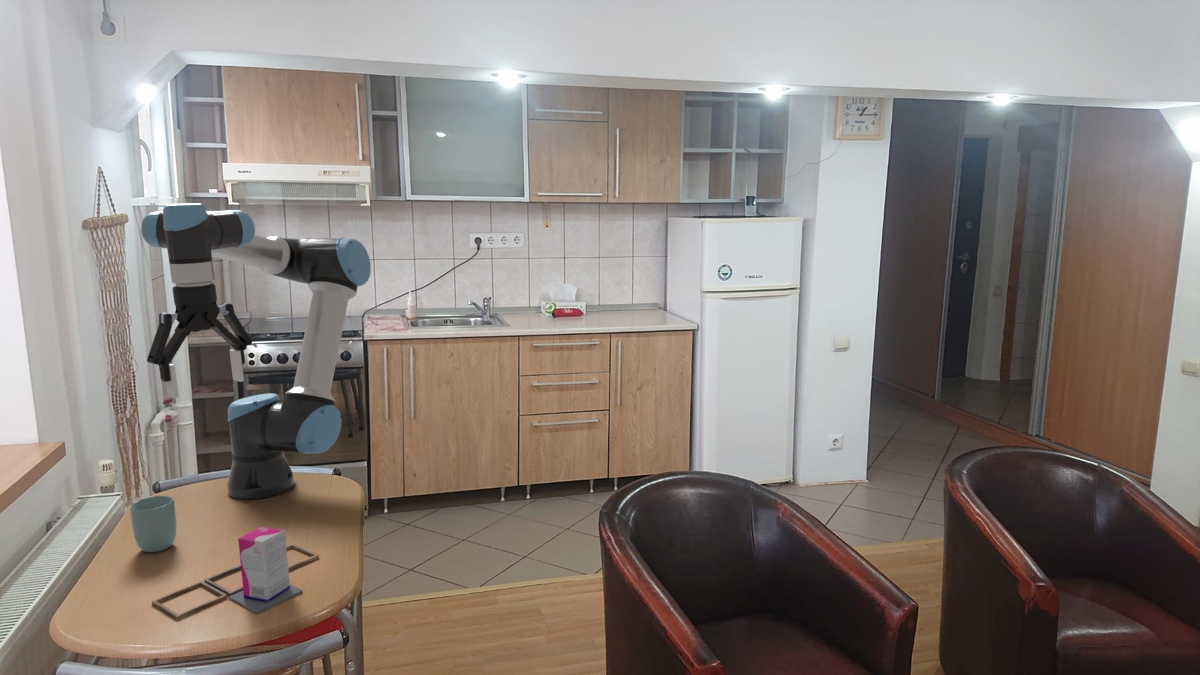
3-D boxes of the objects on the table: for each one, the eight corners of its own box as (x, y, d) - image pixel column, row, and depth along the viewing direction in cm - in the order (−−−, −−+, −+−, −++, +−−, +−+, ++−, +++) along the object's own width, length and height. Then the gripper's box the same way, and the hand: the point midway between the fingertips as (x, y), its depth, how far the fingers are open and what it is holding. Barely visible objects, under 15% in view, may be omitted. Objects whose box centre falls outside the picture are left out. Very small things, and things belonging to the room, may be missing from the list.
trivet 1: (201, 583, 147) (201, 580, 147) (227, 597, 142) (227, 594, 142) (152, 604, 140) (151, 601, 140) (177, 619, 135) (176, 616, 135)
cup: (160, 558, 158) (154, 511, 156) (126, 555, 159) (120, 508, 158) (187, 541, 165) (182, 496, 163) (155, 538, 167) (149, 494, 165)
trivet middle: (249, 564, 155) (249, 561, 155) (275, 576, 150) (275, 573, 150) (204, 582, 148) (204, 579, 148) (230, 596, 143) (229, 593, 142)
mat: (274, 578, 149) (274, 576, 149) (302, 592, 144) (302, 590, 144) (229, 598, 142) (228, 596, 142) (256, 613, 137) (256, 611, 137)
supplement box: (291, 587, 145) (286, 529, 143) (268, 603, 139) (262, 543, 137) (266, 582, 147) (260, 525, 145) (242, 597, 141) (236, 538, 139)
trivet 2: (292, 546, 162) (292, 543, 162) (318, 557, 157) (318, 554, 157) (251, 563, 155) (251, 560, 155) (277, 575, 150) (277, 572, 150)
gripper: (241, 274, 165) (252, 372, 170) (116, 291, 145) (133, 401, 150) (262, 277, 161) (273, 376, 166) (137, 294, 141) (153, 407, 146)
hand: (207, 388), depth 158 cm, fingers open, 13 cm apart
